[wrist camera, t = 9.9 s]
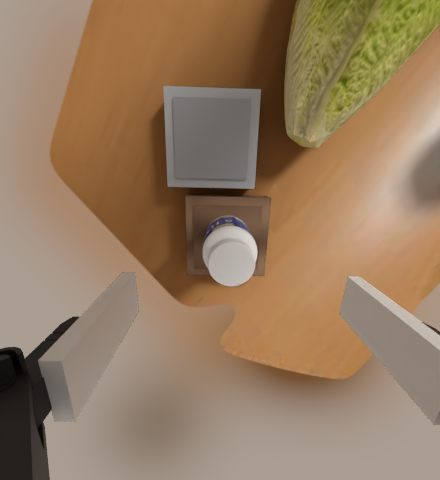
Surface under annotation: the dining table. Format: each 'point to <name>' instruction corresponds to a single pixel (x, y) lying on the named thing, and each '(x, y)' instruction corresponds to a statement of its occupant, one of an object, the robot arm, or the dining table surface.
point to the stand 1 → (211, 136)
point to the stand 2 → (214, 206)
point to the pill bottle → (229, 251)
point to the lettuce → (346, 58)
